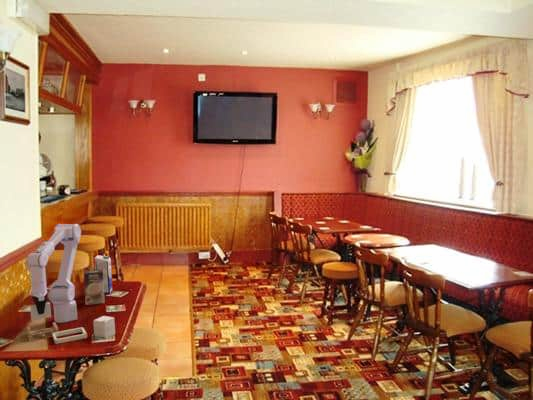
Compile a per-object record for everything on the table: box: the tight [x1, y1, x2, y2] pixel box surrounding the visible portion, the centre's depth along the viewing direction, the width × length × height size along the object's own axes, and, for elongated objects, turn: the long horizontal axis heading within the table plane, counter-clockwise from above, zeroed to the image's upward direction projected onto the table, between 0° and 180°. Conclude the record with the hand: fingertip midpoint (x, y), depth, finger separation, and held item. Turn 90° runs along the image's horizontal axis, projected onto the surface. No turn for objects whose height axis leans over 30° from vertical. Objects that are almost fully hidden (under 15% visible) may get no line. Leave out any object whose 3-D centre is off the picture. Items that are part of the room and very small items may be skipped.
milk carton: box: [94, 254, 113, 295], centre depth 270 cm, size 7×7×20 cm
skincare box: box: [92, 315, 116, 338], centre depth 208 cm, size 6×6×7 cm
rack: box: [26, 321, 59, 342], centre depth 210 cm, size 11×10×4 cm
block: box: [29, 301, 52, 321], centre depth 210 cm, size 8×2×6 cm, turn 121°
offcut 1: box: [32, 332, 44, 341], centre depth 205 cm, size 4×2×2 cm, turn 120°
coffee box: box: [83, 269, 105, 306], centre depth 253 cm, size 9×6×16 cm
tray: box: [52, 326, 88, 345], centre depth 206 cm, size 12×9×2 cm
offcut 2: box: [44, 330, 55, 339], centre depth 208 cm, size 4×2×2 cm, turn 120°
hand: (40, 313), depth 210 cm, fingers closed on block, 1 cm apart
